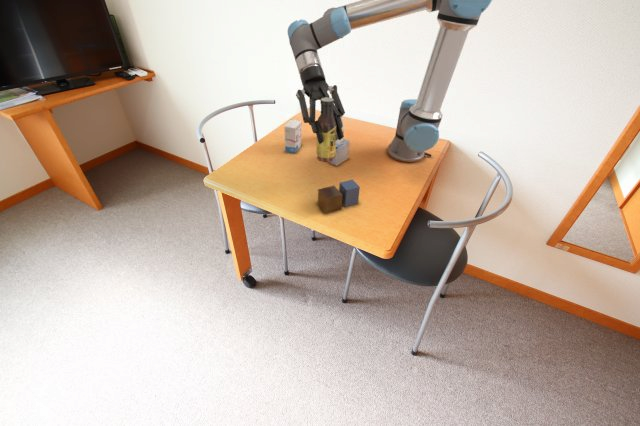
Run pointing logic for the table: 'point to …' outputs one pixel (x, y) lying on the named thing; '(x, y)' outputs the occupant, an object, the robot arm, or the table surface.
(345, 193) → the slate block
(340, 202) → the walnut block
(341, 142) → the medicine box
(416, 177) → the table surface
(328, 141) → the sauce bottle
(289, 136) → the ink box
